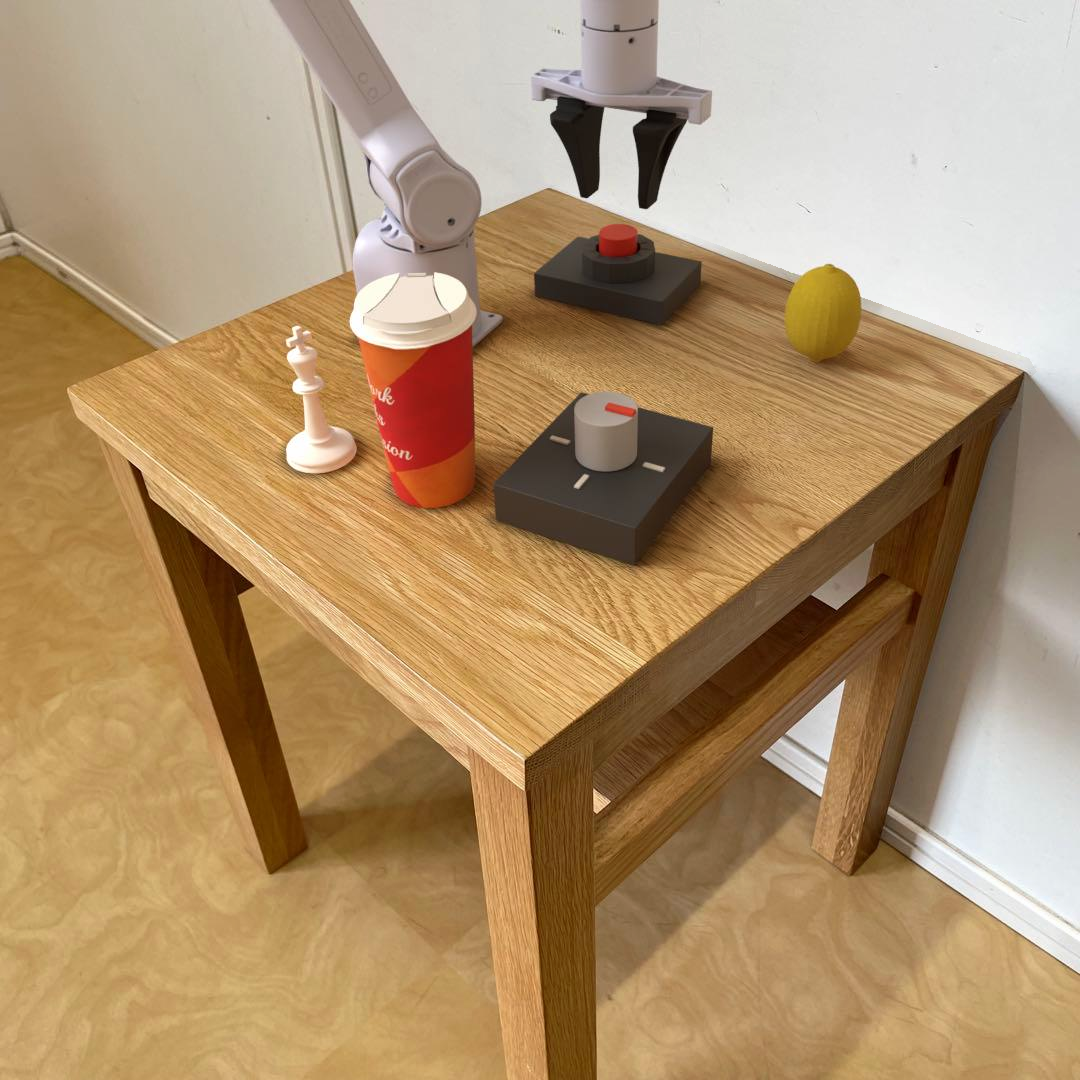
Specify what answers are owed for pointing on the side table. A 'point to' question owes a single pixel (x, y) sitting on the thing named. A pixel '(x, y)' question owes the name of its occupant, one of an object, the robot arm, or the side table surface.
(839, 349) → the lemon
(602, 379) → the side table surface
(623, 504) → the panel
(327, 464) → the chess piece
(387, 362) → the paper cup
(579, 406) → the timer dial
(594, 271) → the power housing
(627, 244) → the power button
